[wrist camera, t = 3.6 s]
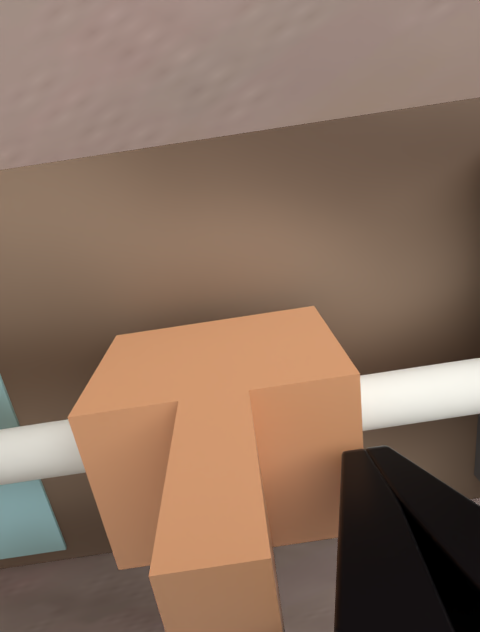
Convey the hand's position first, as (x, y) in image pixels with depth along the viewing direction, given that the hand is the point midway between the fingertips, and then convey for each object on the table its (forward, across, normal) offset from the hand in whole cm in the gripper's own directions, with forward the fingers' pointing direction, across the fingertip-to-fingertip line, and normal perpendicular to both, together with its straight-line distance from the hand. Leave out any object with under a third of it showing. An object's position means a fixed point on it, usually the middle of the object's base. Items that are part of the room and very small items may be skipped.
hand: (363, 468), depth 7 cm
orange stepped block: (+4, +2, 0) cm, 5 cm away
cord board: (+6, +5, 0) cm, 8 cm away
